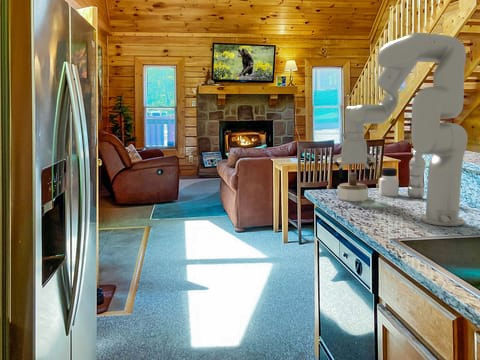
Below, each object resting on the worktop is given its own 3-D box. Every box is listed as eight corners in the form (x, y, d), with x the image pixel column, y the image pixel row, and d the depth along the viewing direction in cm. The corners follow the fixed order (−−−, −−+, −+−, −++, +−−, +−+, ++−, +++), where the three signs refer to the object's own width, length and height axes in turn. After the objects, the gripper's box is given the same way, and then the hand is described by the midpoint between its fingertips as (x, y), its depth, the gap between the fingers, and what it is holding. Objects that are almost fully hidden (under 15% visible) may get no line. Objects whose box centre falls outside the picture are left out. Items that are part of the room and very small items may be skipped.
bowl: (368, 202, 162) (369, 190, 161) (337, 201, 164) (338, 189, 163) (365, 196, 173) (366, 185, 172) (337, 196, 176) (337, 184, 175)
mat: (390, 208, 150) (390, 207, 150) (362, 207, 153) (362, 206, 152) (386, 202, 160) (387, 202, 160) (360, 202, 162) (360, 201, 162)
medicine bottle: (398, 196, 173) (399, 169, 171) (380, 196, 174) (382, 168, 172) (395, 193, 180) (396, 167, 178) (378, 193, 181) (379, 166, 179)
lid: (367, 189, 161) (368, 175, 160) (339, 189, 164) (339, 174, 163) (365, 185, 172) (365, 171, 171) (338, 185, 174) (339, 171, 173)
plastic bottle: (420, 196, 172) (423, 150, 169) (426, 199, 165) (429, 151, 162) (405, 196, 173) (407, 150, 170) (410, 199, 166) (412, 151, 163)
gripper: (332, 137, 163) (332, 178, 165) (377, 136, 159) (376, 179, 162) (332, 136, 170) (332, 176, 172) (375, 136, 166) (374, 176, 169)
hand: (353, 177), depth 167 cm, fingers open, 9 cm apart
